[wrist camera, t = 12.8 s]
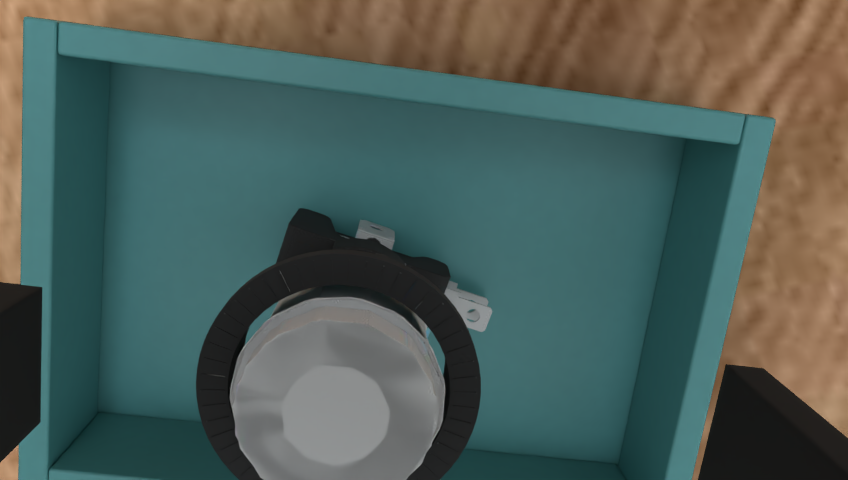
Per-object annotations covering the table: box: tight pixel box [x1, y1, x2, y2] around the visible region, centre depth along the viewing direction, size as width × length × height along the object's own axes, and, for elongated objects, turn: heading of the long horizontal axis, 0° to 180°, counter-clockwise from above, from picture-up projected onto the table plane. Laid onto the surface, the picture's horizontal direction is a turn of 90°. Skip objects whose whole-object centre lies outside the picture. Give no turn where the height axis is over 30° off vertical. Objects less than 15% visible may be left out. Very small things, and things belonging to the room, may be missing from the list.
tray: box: [18, 16, 776, 480], centre depth 21 cm, size 19×13×4 cm
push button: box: [196, 208, 492, 480], centre depth 18 cm, size 7×5×10 cm
